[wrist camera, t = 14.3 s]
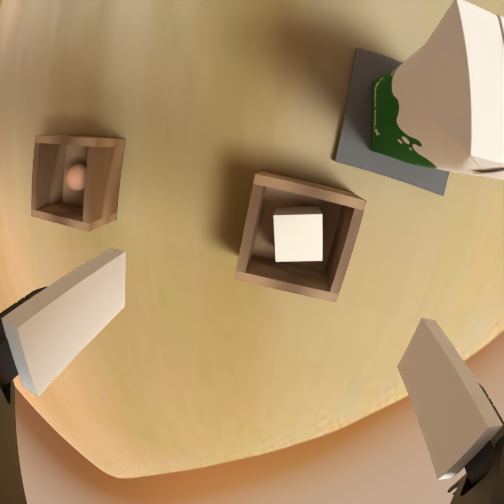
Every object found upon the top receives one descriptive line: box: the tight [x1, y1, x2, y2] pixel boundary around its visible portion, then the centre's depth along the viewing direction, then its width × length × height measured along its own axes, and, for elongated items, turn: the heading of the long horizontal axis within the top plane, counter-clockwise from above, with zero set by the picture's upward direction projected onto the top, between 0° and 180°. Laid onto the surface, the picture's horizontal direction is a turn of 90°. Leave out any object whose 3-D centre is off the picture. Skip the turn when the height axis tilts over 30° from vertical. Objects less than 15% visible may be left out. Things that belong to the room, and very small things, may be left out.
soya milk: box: [371, 0, 504, 180], centre depth 15 cm, size 9×9×20 cm
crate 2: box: [234, 171, 366, 302], centre depth 27 cm, size 9×9×6 cm
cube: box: [273, 206, 323, 262], centre depth 27 cm, size 4×4×4 cm
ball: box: [66, 163, 87, 190], centre depth 29 cm, size 3×3×3 cm
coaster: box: [334, 48, 449, 196], centre depth 24 cm, size 12×12×1 cm
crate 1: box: [31, 135, 126, 232], centre depth 28 cm, size 9×9×6 cm
